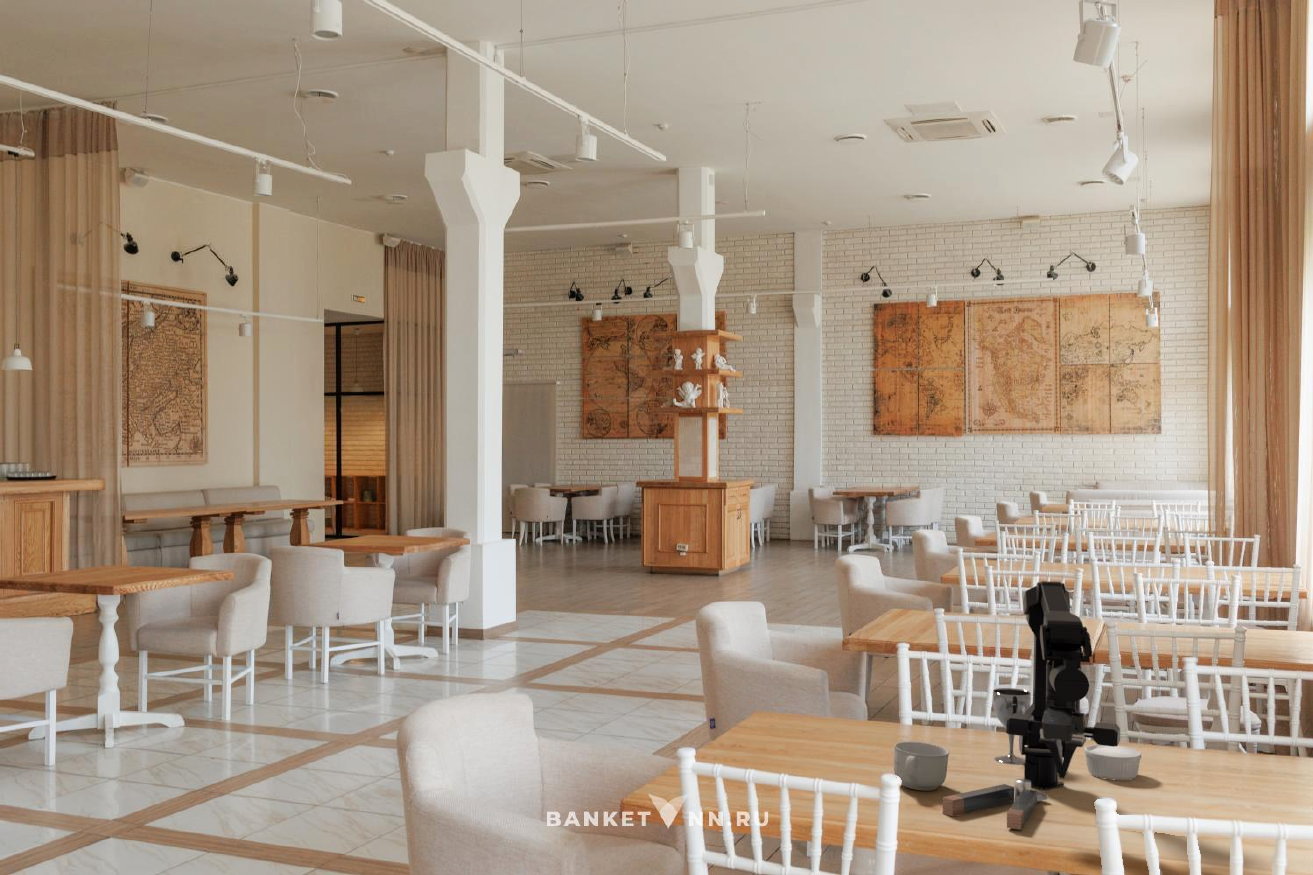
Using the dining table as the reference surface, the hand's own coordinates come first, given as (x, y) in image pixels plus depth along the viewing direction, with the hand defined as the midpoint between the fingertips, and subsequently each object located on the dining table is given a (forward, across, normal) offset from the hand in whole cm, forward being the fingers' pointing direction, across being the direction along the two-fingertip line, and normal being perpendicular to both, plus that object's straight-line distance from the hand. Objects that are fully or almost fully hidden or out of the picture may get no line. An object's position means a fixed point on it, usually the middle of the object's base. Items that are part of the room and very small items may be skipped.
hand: (1062, 777), depth 205 cm
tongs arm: (+9, -8, +4) cm, 13 cm away
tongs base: (+9, -13, +8) cm, 18 cm away
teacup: (+10, -29, +14) cm, 34 cm away
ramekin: (+10, +4, +44) cm, 45 cm away
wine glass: (+10, -17, +46) cm, 50 cm away
